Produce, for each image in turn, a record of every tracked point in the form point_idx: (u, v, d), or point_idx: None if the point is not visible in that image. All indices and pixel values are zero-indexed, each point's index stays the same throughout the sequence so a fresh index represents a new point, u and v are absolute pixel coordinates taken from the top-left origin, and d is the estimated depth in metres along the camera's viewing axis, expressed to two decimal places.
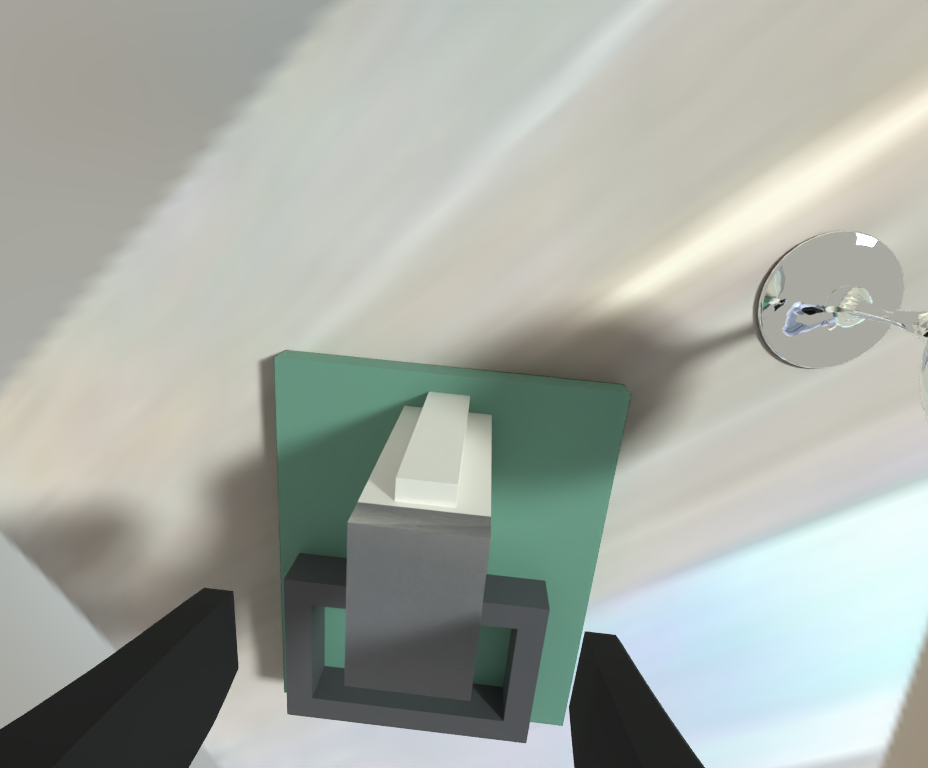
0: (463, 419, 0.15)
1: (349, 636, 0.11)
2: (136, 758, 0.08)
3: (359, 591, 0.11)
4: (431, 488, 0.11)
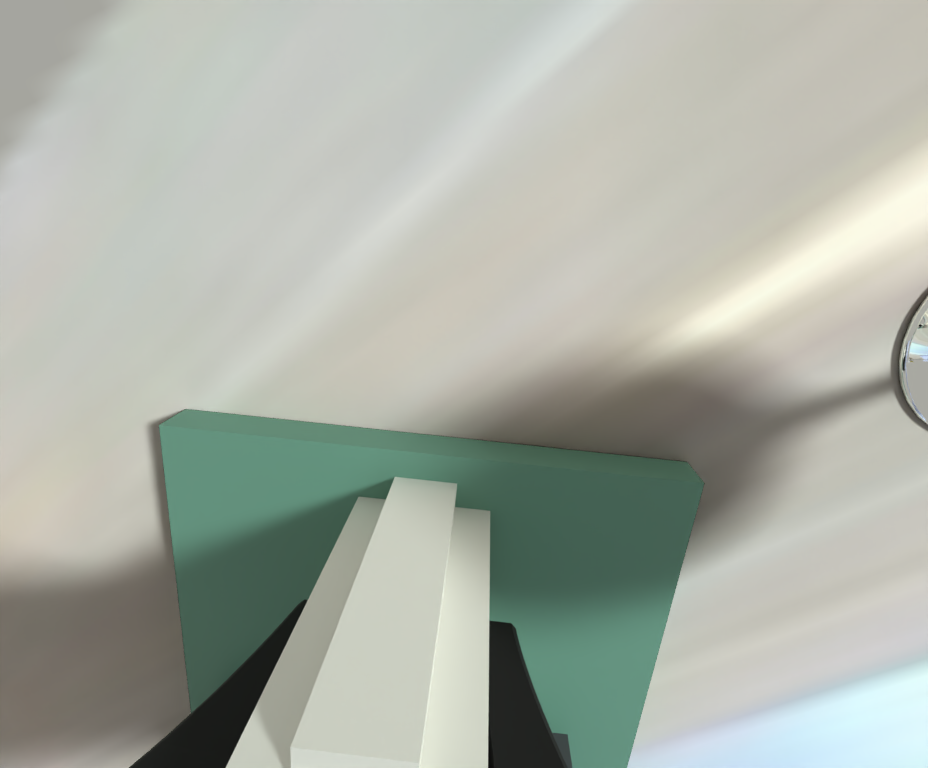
0: (443, 544, 0.09)
1: None
2: None
3: None
4: (364, 767, 0.05)
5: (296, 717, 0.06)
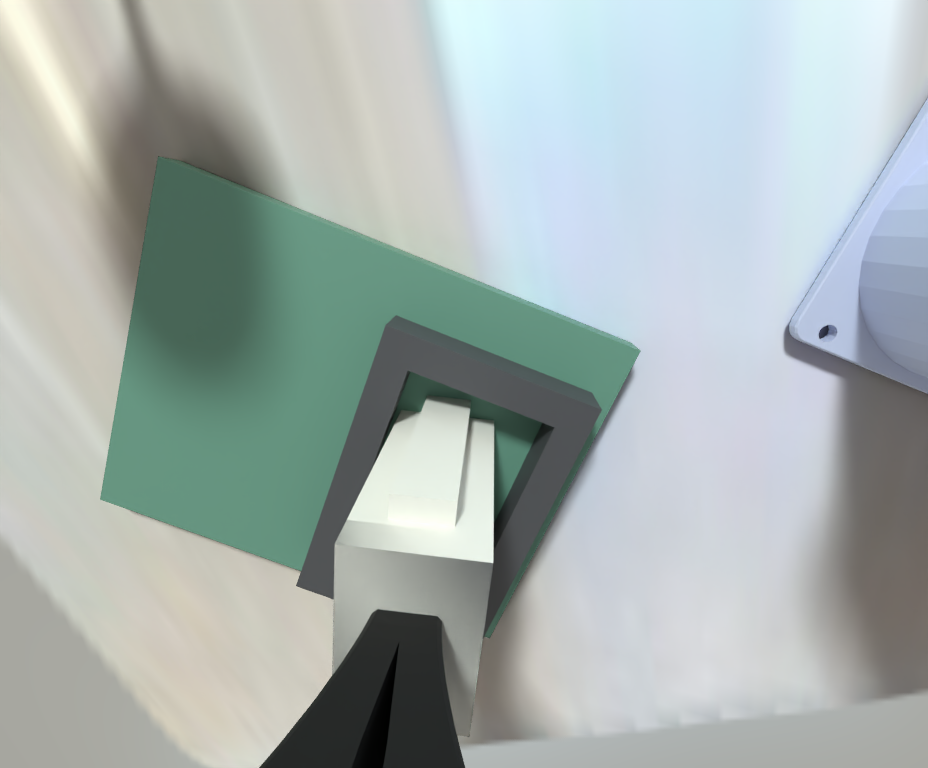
0: (463, 427, 0.14)
1: (337, 666, 0.10)
2: None
3: (347, 618, 0.10)
4: (428, 505, 0.10)
5: (384, 498, 0.11)
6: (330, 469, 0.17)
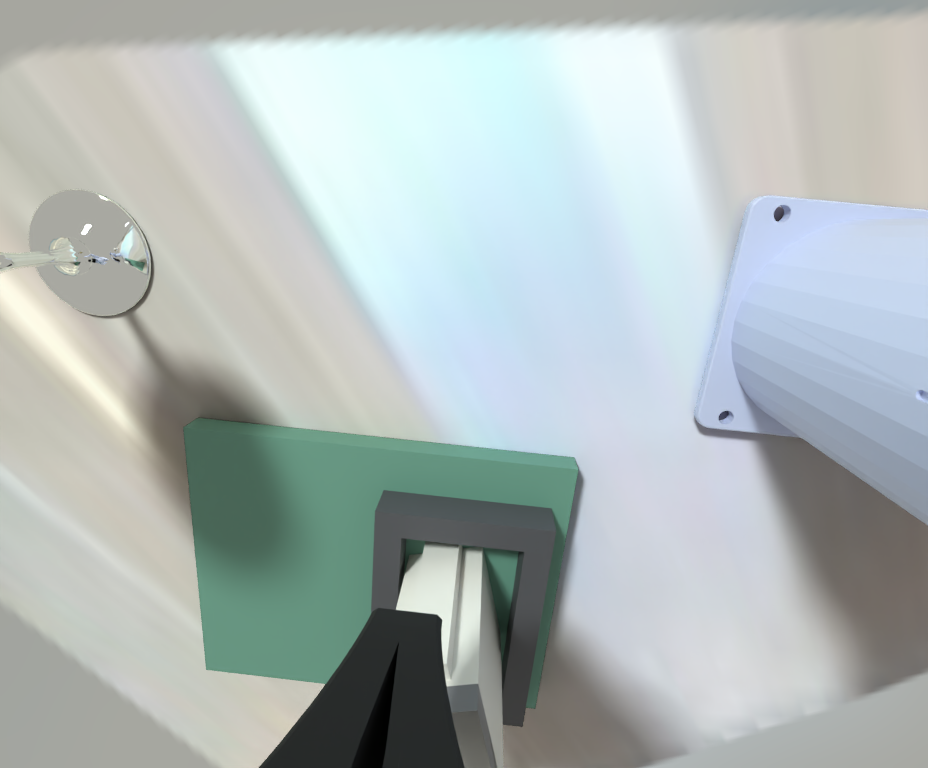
0: (453, 573, 0.18)
1: None
2: None
3: None
4: None
5: None
6: (369, 609, 0.21)
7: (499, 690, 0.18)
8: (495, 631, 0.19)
